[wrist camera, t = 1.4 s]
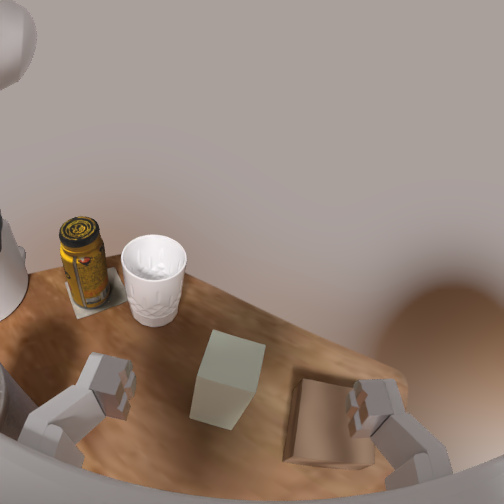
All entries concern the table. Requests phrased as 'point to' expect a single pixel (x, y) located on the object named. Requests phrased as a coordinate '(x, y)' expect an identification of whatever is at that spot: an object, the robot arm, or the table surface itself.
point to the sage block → (226, 379)
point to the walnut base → (324, 429)
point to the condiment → (88, 268)
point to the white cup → (153, 278)
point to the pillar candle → (13, 406)
